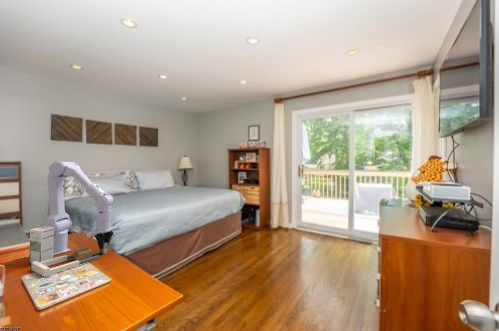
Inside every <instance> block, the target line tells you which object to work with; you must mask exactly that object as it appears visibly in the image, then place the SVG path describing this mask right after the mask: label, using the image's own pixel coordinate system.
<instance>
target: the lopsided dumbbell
mask: <svg viewBox="0 0 499 331" xmlns="http://www.w3.org/2000/svg"><path fill="white" fill-rule="evenodd" d="M107 246H108V247H109V244H108V243H107V242H103V249H99V248H98V249H99V250H97V251H95V252H93V250H92V249H90V248H88V247H82V248H79V249H74V250H72V254H73V258H72V259H71V260H72V261H73V262H74V261H77V260H78V261H81V260H84V259H87V258H90V257H93V256H94V255H98V254H103V255H105V254H108V247H107Z"/></svg>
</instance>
